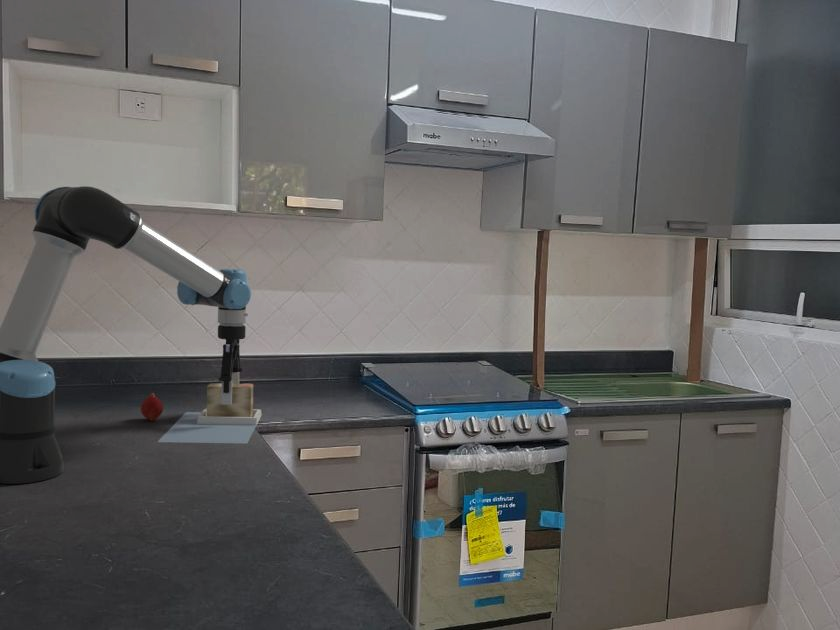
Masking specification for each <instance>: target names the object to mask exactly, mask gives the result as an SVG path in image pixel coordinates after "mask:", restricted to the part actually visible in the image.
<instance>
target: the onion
mask: <svg viewBox="0 0 840 630" xmlns="http://www.w3.org/2000/svg"><path fill="white" fill-rule="evenodd" d="M163 410H164V405H163V403H162V400H161V399H160V398H158V397H157V396H155V393H154V392H153V393H152V392H151V394H150V395H148V397H146V398H145V399H144V400H143V402H142V403H141V406H140V411H141V415H142V416H143V417H144V418H145V419H147V420H148V421H149V422H155V421H156V420H157V419H158V418H159V417H160V416H161V414H162V413H163Z"/></svg>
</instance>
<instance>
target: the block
mask: <svg viewBox="0 0 840 630" xmlns="http://www.w3.org/2000/svg"><path fill="white" fill-rule="evenodd" d="M221 394H222V382H220V383H218V382H217V383H216V382H215V383H211V382H210V383H209V384H208V385H207V386H206V408H207V416H215V417H253V409H254V384H253V383H239V384H232V405H221Z"/></svg>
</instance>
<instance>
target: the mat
mask: <svg viewBox="0 0 840 630" xmlns="http://www.w3.org/2000/svg"><path fill="white" fill-rule="evenodd" d="M201 412H202V411H201ZM201 412H199V411H198V412H194V411H193V412H190V411H186V412H185V413H183V414H182V416H181V417H180V418H179V419H178V420H177V421H176V422H175V423H174V424H173V425H172V426H171V427H170V428H169V429H168V430H167V431H166V432H165V433H164V434H163V435H162V436H161V437H160V438H159V440H158V441H157V443H167V444H168V443H173V444H174V443H176V444H177V443H180V444H181V443H182V444H183V443H184V444H185V443H187V444H241V445H242V444H248V442H249V441H250V439H251V437H252V435H253V433H254V431H255V429H256V427H257V425H216V424H197V417H198V416H199V415H200V413H201ZM262 416H263V413H261V417H260V419H261V418H262Z"/></svg>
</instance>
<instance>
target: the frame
mask: <svg viewBox="0 0 840 630" xmlns="http://www.w3.org/2000/svg"><path fill="white" fill-rule="evenodd" d="M261 414H262V409H255V408H253V417H215V416H207V407H205V408H203V410H202V411H201V413H200V415H199V416H198V417H197V424H216V425H256V426H257V425H258V423H259V421H260V419H261V418H262V416H261ZM260 417H261V418H260Z"/></svg>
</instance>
